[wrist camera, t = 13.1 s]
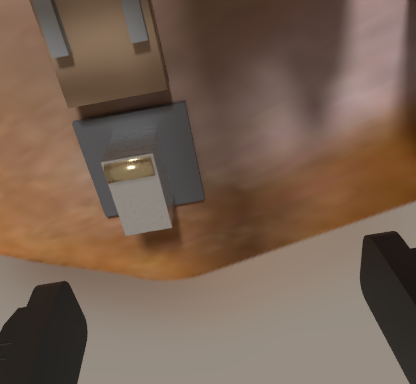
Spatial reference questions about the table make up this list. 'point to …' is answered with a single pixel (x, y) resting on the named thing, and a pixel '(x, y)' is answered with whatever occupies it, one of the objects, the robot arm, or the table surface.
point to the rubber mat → (171, 143)
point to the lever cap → (139, 180)
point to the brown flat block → (102, 48)
